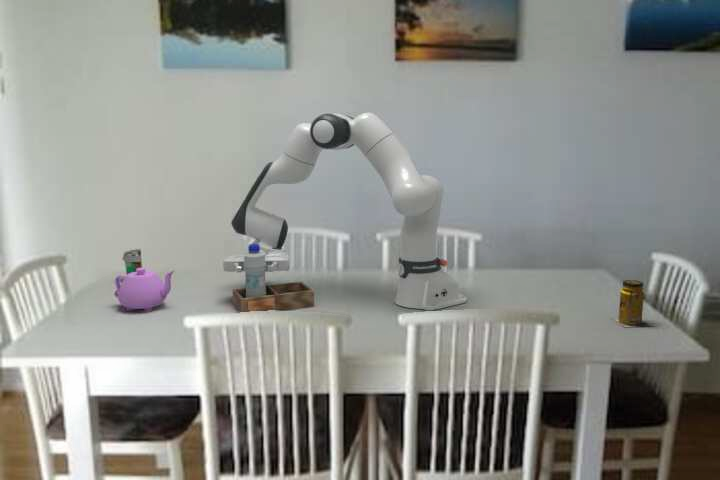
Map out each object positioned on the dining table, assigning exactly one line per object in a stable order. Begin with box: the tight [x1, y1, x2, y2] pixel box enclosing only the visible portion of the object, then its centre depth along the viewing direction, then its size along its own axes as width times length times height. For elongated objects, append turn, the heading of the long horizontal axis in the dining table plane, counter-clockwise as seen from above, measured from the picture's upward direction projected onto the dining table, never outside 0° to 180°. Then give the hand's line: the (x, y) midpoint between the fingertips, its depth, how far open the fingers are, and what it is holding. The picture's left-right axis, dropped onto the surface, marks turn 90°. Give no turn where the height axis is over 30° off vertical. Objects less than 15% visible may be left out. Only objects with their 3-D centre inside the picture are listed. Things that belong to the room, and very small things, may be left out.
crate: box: [232, 281, 315, 313], centre depth 201 cm, size 22×12×5 cm, turn 113°
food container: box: [121, 248, 143, 275], centre depth 231 cm, size 12×6×10 cm, turn 17°
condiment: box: [613, 279, 654, 328], centre depth 183 cm, size 7×8×12 cm
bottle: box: [244, 243, 267, 298], centre depth 198 cm, size 7×7×20 cm
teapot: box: [114, 267, 176, 312], centre depth 200 cm, size 20×14×12 cm
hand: (254, 269), depth 196 cm, fingers open, 8 cm apart
